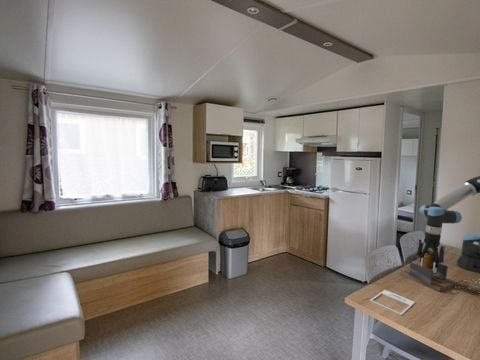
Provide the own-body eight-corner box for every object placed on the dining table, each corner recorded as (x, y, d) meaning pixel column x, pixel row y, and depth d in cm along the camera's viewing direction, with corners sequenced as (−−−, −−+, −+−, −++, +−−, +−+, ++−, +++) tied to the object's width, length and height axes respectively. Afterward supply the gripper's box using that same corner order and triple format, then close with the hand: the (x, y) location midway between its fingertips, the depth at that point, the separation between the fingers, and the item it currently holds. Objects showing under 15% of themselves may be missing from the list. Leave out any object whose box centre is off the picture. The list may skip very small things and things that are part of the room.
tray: (416, 270, 175) (418, 255, 174) (455, 285, 156) (458, 269, 155) (399, 274, 167) (401, 259, 166) (439, 292, 148) (441, 274, 147)
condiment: (428, 268, 165) (430, 250, 164) (440, 275, 157) (443, 255, 156) (418, 269, 163) (420, 250, 162) (430, 275, 155) (433, 255, 154)
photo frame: (415, 301, 135) (401, 314, 124) (414, 303, 135) (401, 316, 124) (384, 289, 146) (369, 299, 135) (384, 291, 146) (369, 301, 135)
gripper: (412, 228, 165) (408, 264, 167) (448, 238, 148) (442, 278, 151) (419, 227, 168) (415, 263, 171) (455, 237, 152) (449, 275, 154)
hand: (428, 270), depth 161 cm, fingers closed on condiment, 6 cm apart
